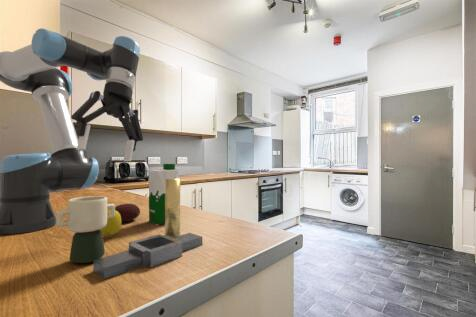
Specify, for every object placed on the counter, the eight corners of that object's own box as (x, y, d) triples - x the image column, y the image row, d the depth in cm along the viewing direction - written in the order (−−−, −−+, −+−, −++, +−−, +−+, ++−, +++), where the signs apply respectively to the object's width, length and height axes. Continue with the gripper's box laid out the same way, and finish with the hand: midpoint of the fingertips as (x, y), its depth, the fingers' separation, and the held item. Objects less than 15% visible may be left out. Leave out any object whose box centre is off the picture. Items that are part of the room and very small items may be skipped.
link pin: (161, 237, 65) (162, 179, 65) (174, 234, 68) (174, 178, 68) (170, 240, 62) (170, 180, 62) (182, 237, 65) (183, 179, 65)
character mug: (107, 248, 56) (108, 194, 57) (121, 256, 52) (122, 197, 52) (50, 263, 48) (51, 199, 48) (60, 274, 43) (62, 203, 44)
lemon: (111, 241, 62) (112, 210, 62) (93, 239, 63) (93, 209, 63) (125, 235, 67) (126, 206, 67) (108, 233, 68) (109, 205, 68)
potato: (105, 223, 80) (106, 204, 80) (133, 217, 88) (133, 200, 88) (118, 226, 76) (118, 207, 76) (145, 219, 85) (145, 202, 85)
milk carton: (180, 221, 82) (181, 164, 82) (155, 226, 76) (155, 164, 76) (169, 217, 88) (170, 163, 89) (145, 221, 82) (145, 163, 83)
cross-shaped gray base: (89, 268, 46) (89, 252, 46) (184, 238, 64) (184, 227, 64) (108, 283, 40) (109, 265, 40) (207, 246, 58) (207, 234, 58)
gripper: (84, 59, 58) (64, 141, 54) (159, 102, 80) (150, 164, 75) (67, 66, 62) (47, 144, 57) (144, 106, 83) (134, 165, 78)
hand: (106, 155), depth 66 cm, fingers open, 13 cm apart
